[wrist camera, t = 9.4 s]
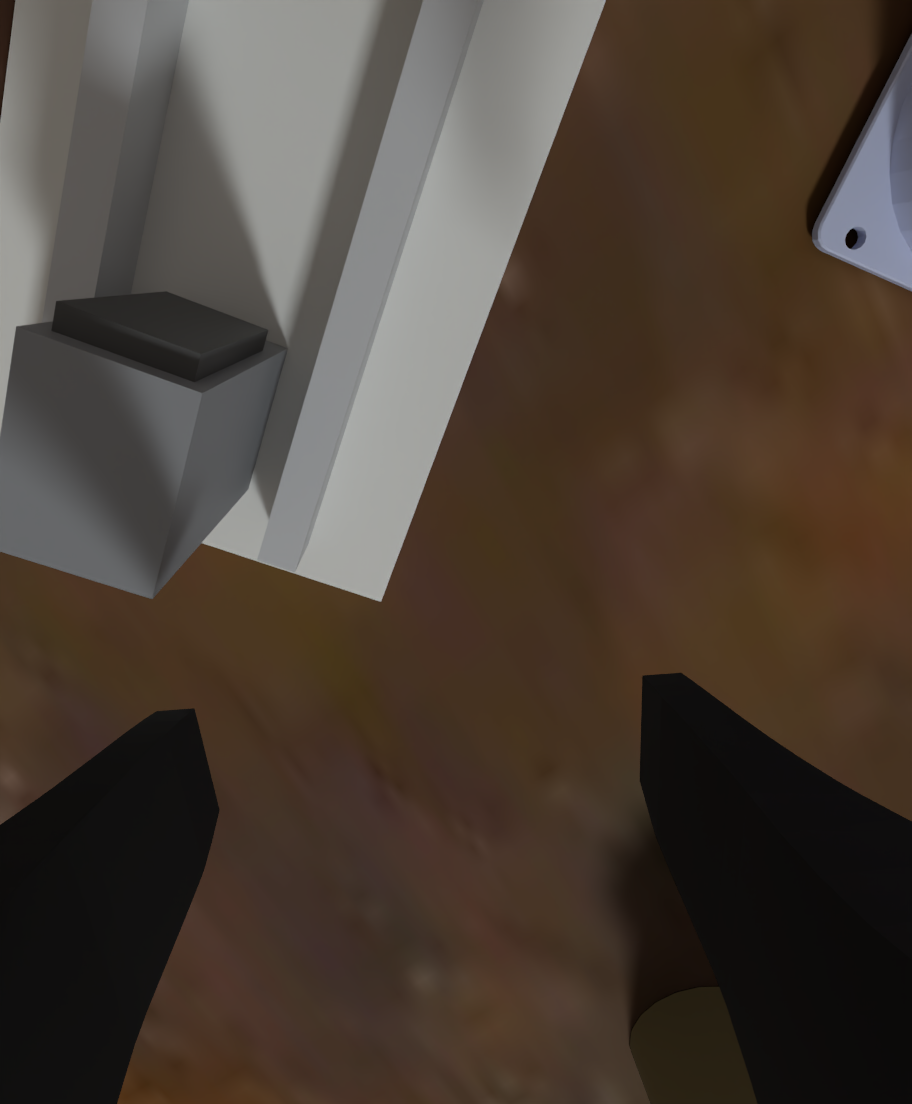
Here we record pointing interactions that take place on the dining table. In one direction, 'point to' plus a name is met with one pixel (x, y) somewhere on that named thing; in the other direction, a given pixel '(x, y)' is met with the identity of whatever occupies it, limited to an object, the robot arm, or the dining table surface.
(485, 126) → the rail
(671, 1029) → the cork
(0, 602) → the dining table surface
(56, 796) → the robot arm
